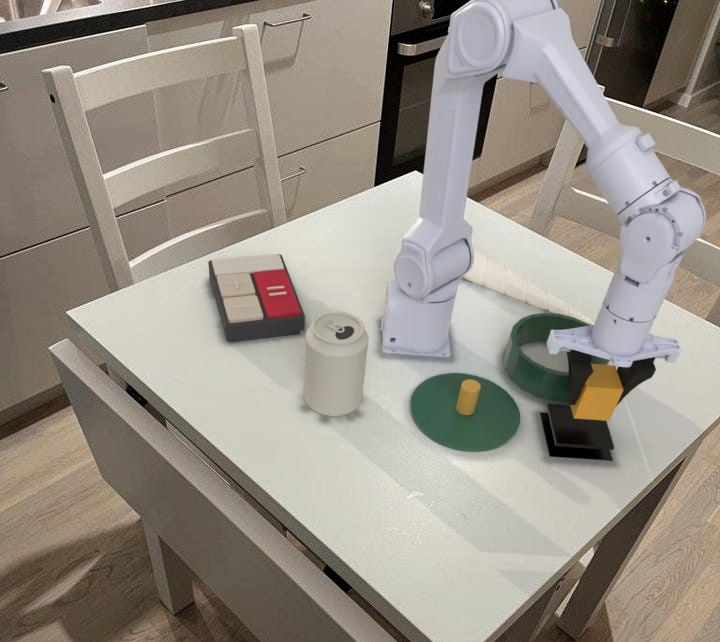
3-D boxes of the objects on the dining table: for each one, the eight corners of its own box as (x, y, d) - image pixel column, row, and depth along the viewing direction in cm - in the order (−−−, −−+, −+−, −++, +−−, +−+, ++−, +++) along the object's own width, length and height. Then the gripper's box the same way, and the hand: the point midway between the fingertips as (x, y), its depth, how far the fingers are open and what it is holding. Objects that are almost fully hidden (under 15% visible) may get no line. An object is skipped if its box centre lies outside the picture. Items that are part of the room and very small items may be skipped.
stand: (548, 459, 91) (553, 445, 89) (538, 415, 96) (543, 401, 94) (611, 463, 91) (618, 450, 89) (598, 419, 96) (604, 405, 94)
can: (341, 429, 91) (347, 353, 82) (292, 404, 93) (293, 328, 84) (372, 397, 96) (381, 321, 87) (324, 374, 98) (329, 298, 89)
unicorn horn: (586, 341, 107) (596, 313, 104) (448, 278, 116) (453, 251, 112) (598, 326, 110) (609, 299, 107) (463, 266, 118) (468, 239, 115)
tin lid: (410, 451, 90) (416, 421, 86) (407, 375, 99) (412, 345, 95) (525, 458, 90) (536, 429, 87) (511, 382, 100) (520, 353, 96)
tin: (508, 401, 97) (517, 371, 93) (497, 338, 106) (505, 309, 102) (607, 408, 98) (620, 379, 94) (588, 345, 107) (599, 316, 103)
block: (573, 418, 88) (586, 387, 84) (567, 394, 91) (579, 362, 87) (609, 421, 88) (624, 389, 84) (601, 396, 91) (615, 365, 87)
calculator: (225, 321, 98) (207, 255, 106) (227, 346, 101) (209, 280, 110) (306, 312, 100) (281, 248, 109) (304, 336, 104) (281, 273, 113)
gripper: (570, 324, 75) (536, 419, 86) (707, 334, 76) (657, 427, 86) (559, 285, 80) (527, 379, 90) (688, 295, 81) (643, 388, 91)
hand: (590, 400), depth 89 cm, fingers closed on block, 4 cm apart
